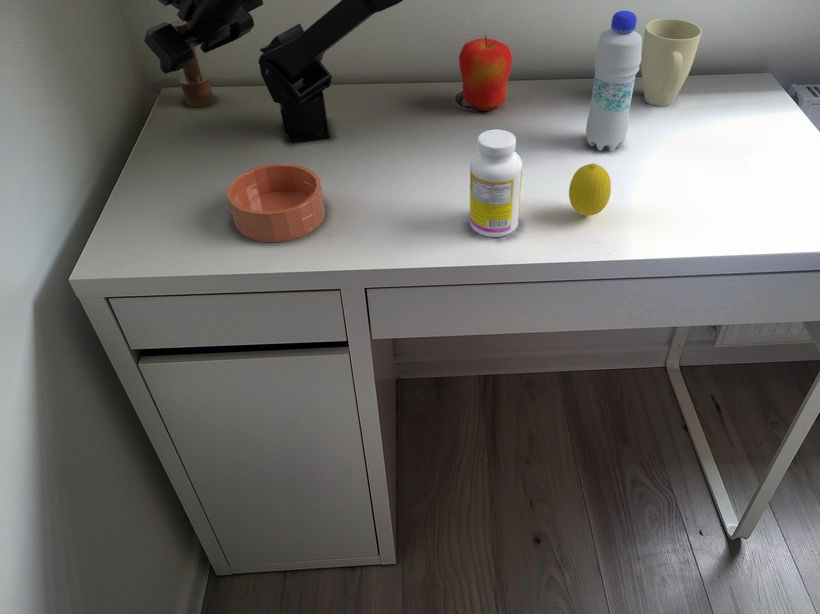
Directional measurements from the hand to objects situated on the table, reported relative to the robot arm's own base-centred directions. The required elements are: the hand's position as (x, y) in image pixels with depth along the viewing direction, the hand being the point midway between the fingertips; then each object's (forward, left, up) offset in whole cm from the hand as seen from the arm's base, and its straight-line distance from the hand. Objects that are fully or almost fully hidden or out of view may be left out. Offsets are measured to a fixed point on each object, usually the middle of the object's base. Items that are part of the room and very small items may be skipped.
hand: (183, 60), depth 117 cm
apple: (-48, +14, -7) cm, 50 cm away
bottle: (-63, +31, -7) cm, 71 cm away
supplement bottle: (-40, +48, -7) cm, 63 cm away
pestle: (-1, +1, -7) cm, 7 cm away
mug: (-78, +20, -7) cm, 81 cm away
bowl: (-12, +39, -7) cm, 41 cm away
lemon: (-53, +49, -7) cm, 72 cm away
